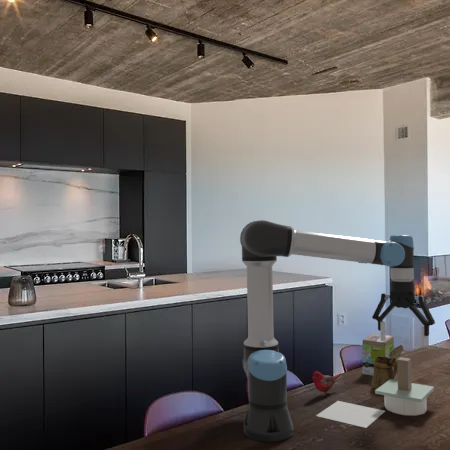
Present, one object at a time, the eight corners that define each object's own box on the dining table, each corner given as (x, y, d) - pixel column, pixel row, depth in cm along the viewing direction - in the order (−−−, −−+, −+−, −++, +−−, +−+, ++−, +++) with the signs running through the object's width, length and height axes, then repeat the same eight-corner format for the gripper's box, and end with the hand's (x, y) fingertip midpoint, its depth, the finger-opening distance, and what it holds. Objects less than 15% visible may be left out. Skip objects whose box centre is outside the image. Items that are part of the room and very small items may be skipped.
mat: (315, 417, 157) (315, 415, 157) (337, 402, 170) (337, 400, 170) (366, 429, 147) (366, 427, 147) (385, 412, 160) (385, 410, 160)
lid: (375, 393, 161) (374, 360, 161) (390, 382, 173) (389, 351, 173) (421, 402, 152) (420, 367, 152) (434, 389, 164) (433, 357, 164)
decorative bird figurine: (309, 399, 174) (308, 371, 174) (338, 388, 185) (337, 362, 185) (315, 401, 171) (314, 373, 172) (344, 390, 183) (344, 363, 183)
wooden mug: (394, 395, 176) (393, 346, 176) (366, 386, 188) (365, 339, 188) (410, 391, 180) (409, 343, 181) (382, 382, 192) (381, 337, 192)
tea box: (386, 378, 197) (385, 342, 198) (362, 374, 203) (361, 339, 203) (394, 368, 210) (393, 335, 210) (371, 365, 216) (370, 332, 216)
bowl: (379, 411, 161) (379, 393, 161) (392, 400, 171) (392, 383, 172) (419, 419, 153) (419, 400, 153) (430, 407, 164) (430, 389, 164)
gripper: (444, 281, 158) (445, 345, 158) (370, 277, 174) (371, 336, 173) (438, 283, 152) (439, 350, 152) (362, 279, 168) (363, 340, 167)
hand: (403, 343), depth 163 cm, fingers open, 13 cm apart
